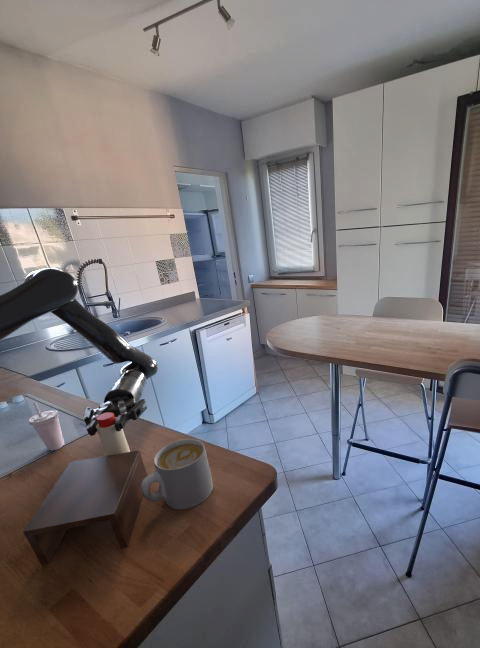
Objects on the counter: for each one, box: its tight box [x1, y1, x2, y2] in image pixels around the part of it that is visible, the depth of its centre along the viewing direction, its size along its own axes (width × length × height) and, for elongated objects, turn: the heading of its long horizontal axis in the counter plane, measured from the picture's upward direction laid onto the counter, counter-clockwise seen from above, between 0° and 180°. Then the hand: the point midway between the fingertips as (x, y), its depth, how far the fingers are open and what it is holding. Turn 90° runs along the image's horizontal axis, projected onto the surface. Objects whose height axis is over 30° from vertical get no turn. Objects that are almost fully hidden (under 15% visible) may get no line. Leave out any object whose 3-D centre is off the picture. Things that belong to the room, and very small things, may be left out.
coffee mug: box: [141, 438, 214, 510], centre depth 69 cm, size 13×10×10 cm
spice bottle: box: [96, 412, 131, 456], centre depth 77 cm, size 5×5×12 cm
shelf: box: [22, 450, 148, 566], centre depth 65 cm, size 14×18×8 cm
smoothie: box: [28, 401, 65, 452], centre depth 88 cm, size 6×6×14 cm
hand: (104, 429), depth 73 cm, fingers closed on spice bottle, 4 cm apart
